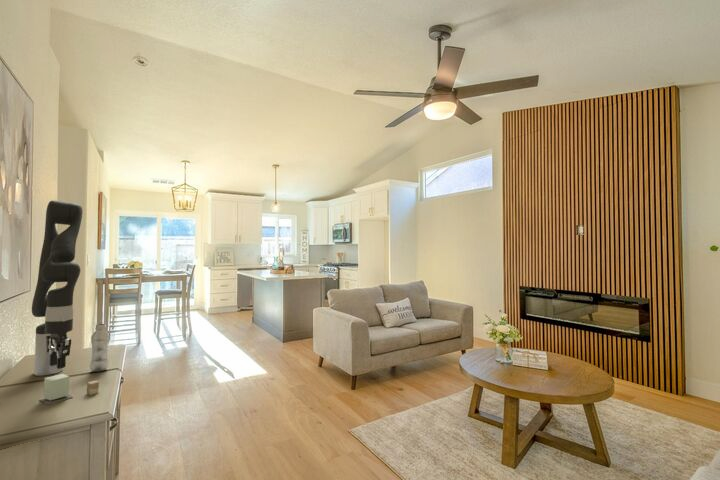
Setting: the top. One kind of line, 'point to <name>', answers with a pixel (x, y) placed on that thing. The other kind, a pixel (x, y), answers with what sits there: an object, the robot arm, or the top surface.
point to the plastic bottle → (99, 348)
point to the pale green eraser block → (56, 386)
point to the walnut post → (55, 399)
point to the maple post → (92, 387)
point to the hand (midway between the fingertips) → (57, 366)
